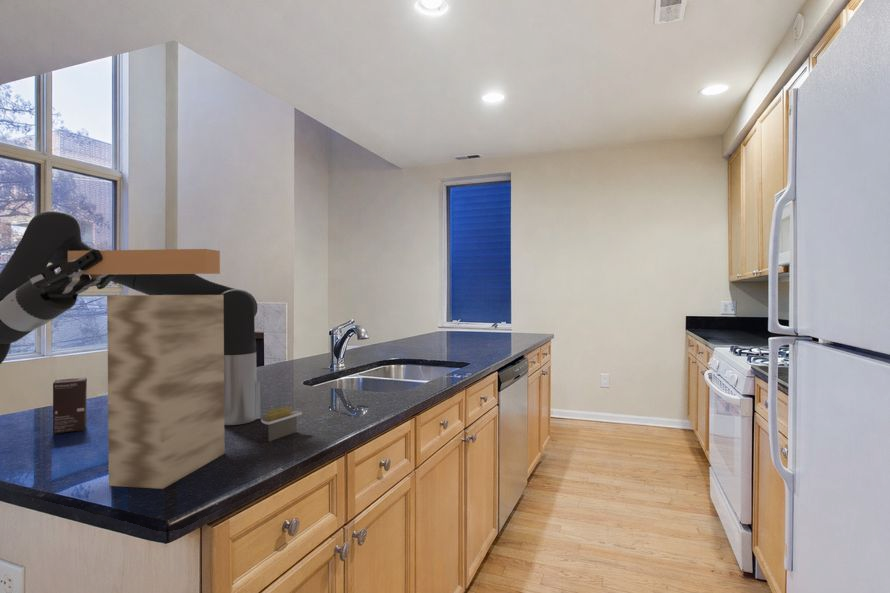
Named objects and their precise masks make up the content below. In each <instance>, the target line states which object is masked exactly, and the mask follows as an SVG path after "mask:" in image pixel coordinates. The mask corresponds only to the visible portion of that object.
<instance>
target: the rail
mask: <svg viewBox="0 0 890 593" xmlns="http://www.w3.org/2000/svg"><path fill="white" fill-rule="evenodd" d="M99 251H100V253H101V255H102V257H103V259H102V261H100V262H99V263H97V264H96V265H94V266H93V267H91V268H90V269H88V270H84V271H85V272H84V273H83V274H87V275H89V274H95V275H97V274H196V275H201V274H202V275H205V274H206V275H208V274H211V275H212V274H214V275H215V274H216V275H218V274H221V258H220V257H221V251H220V250H216V249H215V250H214V249H207V248H188V249H187V248H186V249H185V248H184V249H183V248H181V249H179V248H177V249H173V248H172V249H118V250H117V249H111V250H110V249H108V250H106V249H105V250H103V249H99ZM88 252H90V251H68V262H70V261H71V260H73V259H79V258H80V257H82V256H83V255H85V254H87V253H88ZM89 276H90V275H89Z"/></svg>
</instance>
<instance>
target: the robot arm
mask: <svg viewBox="0 0 890 593" xmlns="http://www.w3.org/2000/svg"><path fill="white" fill-rule="evenodd" d="M99 250H100V249H98V248H96V247H93V246H91V245H89V244H87V243H85V242H83V241H82V234H81V228H80V224H79V222H78V221H77V219H76V218H75V217H74V216H73V215H71V214H69V213H67V212H66V211H61V210H45V211H42V212H39V213H38V214H36V215H34V216H33V217H32V218H31V219H30V220H29V223H28V224H27V227H26V228H25V230H24V232H23V235H22V237H21V238H20V241H19V243H18V244H17V246H16V247H15V249H14V251H13V253H12V255H11V256H10V257H9V259H8V261H7V263H6V264H5V266H4V267H3V268H2V270H1V271H0V365H1V364H2V363H3V362H4V361H5V360H6V357H7V356H8V354H9V352H10V349H11V344H13V343H15V342H17V341H18V342H19V340H21V339H22V338H23V337H25V336H27V335H29V334H30V333H32V332H33V331H35V330H36V329H38V328H41V327H43V326H45V325H47V324H48V323H49V322H51V321H53V320H54V319H55V318H57V317H59V316H61V315H62V314H64V313H65V312H67V311H68V310H70V309H71V308H73V307H74V306H75V304H76V302H77V298H78V296H79V294H81V293H84V292H85V291H87V290H88V289H89V288H91V287H96V289H98V290H102V289H105V288H106V287H107V286H108V284H110V283H111V282H113V283H116V284H119V285H121V286H124V287H125V288H126V287H127V288H129V289H131V290H135V291H136V292H139V293H143V294H144V295H223V298H224V426H237V425H239V426H240V425H243V424H244V425H245V424H250V423H252V422H254V421H256V420H258V419H261V382H260V381H259V380H257V341H256V333H255V332H256V331H255V317H256V315H257V312H258V308H259V307H258V303H257V300H256V299H255V297H254V296H253V295H252V294H251V293H249V292H248V291H247V290H242V289H238V288H234V287H231V286H227V285H222V284H219V283H217V282H213V281H210V280H208V279H205V278H203V277H202V276H199V274H97V275H95V274H89V275H87V274H83V273H84V272H85V271H84V270H88V269H90V268H91V267H93V266H94V265H96V264H97V263H99V262H100V261H102V259H103V257H102V255H101V253H100V251H99ZM68 251H90V252H88V253H87V254H85V255H83V256H82V257H80V258H79V259H73V260H71V261H70V262H68ZM49 263H50V265H49Z"/></svg>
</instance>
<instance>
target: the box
mask: <svg viewBox="0 0 890 593" xmlns="http://www.w3.org/2000/svg"><path fill="white" fill-rule="evenodd" d="M87 381H88V380H87V377H78V378H67V379H66V378H64V379H55V380H54V382H53V383H52V434H53V435H57V434H62V433H69V432H77V431H85V430H86V427H87V389H88V388H87V385H88V383H87Z"/></svg>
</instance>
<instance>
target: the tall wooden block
mask: <svg viewBox="0 0 890 593" xmlns="http://www.w3.org/2000/svg"><path fill="white" fill-rule="evenodd" d="M106 296H107V297H106V301H107V302H106V303H107V304H106V309H107V310H106V314H107V315H106V318H107V322H106V323H107V325H106V326H107V327H106V328H107V333H106V334H107V419H108V421H107V425H108V426H107V427H108V428H107V430H108V432H107V434H108V435H107V437H108V438H107V440H108V446H107V447H108V452H107V453H108V486H109V487H127V488H142V489H158V490H159V489H161V490H163V489H165V488H167V487H169V486H171V485H172V484H174V483H176V482H178V481H179V480H180V479H183V478H184V477H186V476H188V475H190V474H191V473H193V472H195V471H197V470H199V469H200V468H202V467H203V466H205V465H207V464H209V463H210V462H212V461H214V460H216V459H217V458H219V457H221V456H223V455H224V454H226V453H225V452H226V450H225V449H226V448H225V442H226V441H225V425H224V298H223V295H147V294H144V295H142V294H141V295H140V294H139V295H136V294H135V295H129V294H128V295H127V294H126V295H121V294H120V295H115V294H114V295H106Z"/></svg>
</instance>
